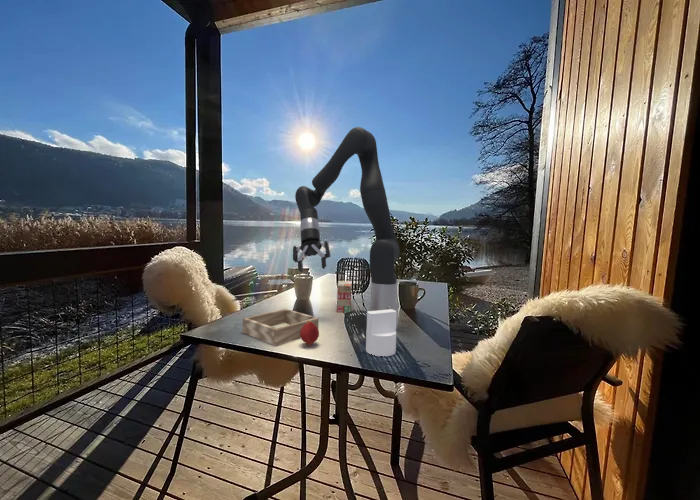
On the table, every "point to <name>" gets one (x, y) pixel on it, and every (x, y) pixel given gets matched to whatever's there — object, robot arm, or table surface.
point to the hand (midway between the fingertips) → (312, 269)
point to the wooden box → (276, 336)
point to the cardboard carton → (344, 296)
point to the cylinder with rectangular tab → (381, 332)
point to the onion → (309, 333)
